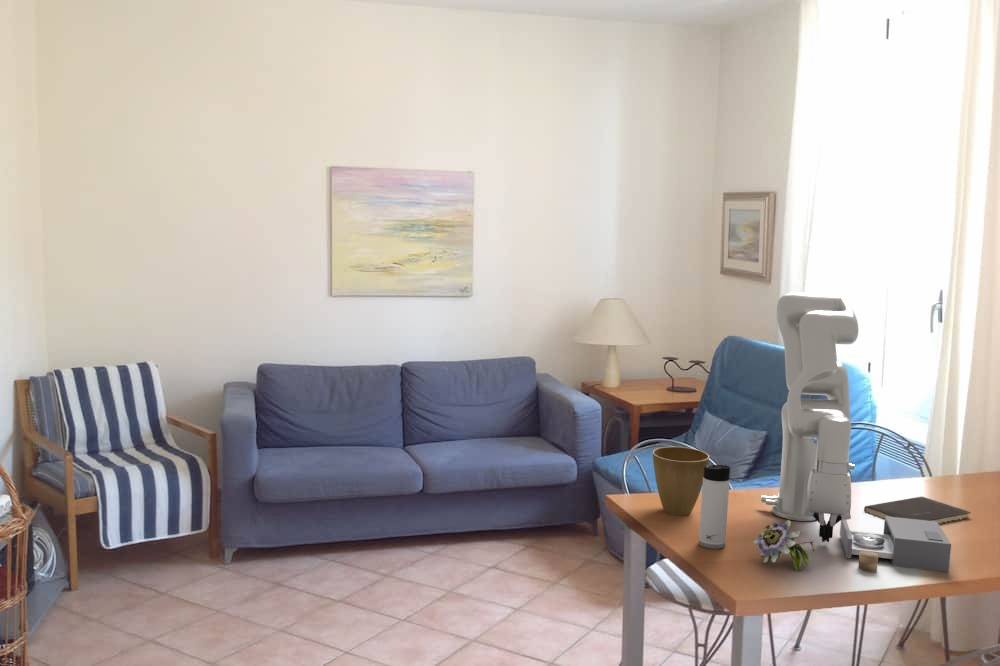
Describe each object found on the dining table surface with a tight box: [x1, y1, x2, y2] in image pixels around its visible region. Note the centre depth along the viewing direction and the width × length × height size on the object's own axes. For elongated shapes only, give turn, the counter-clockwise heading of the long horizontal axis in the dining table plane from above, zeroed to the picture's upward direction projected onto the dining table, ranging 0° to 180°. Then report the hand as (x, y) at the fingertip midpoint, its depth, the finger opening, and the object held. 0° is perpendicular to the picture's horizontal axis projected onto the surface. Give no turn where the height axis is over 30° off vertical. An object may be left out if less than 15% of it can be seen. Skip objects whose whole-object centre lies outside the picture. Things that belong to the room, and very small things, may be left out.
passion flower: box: [752, 519, 816, 572], centre depth 223 cm, size 11×11×12 cm
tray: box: [839, 520, 894, 560], centre depth 233 cm, size 12×17×5 cm
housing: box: [882, 516, 952, 573], centre depth 230 cm, size 12×17×7 cm
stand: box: [857, 551, 879, 573], centre depth 221 cm, size 4×4×4 cm
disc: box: [853, 532, 884, 549], centre depth 233 cm, size 7×7×2 cm
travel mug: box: [698, 464, 731, 550], centre depth 232 cm, size 6×7×20 cm
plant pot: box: [652, 446, 710, 516], centre depth 258 cm, size 15×15×16 cm
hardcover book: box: [863, 496, 972, 524], centre depth 263 cm, size 16×23×2 cm
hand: (825, 540), depth 235 cm, fingers closed
